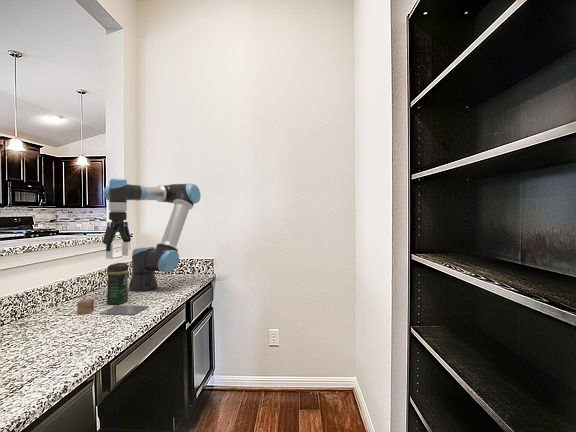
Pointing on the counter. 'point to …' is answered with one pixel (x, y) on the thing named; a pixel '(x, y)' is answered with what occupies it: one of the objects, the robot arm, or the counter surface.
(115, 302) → the coffee jar
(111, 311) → the plate
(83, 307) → the walnut block
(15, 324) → the counter surface
